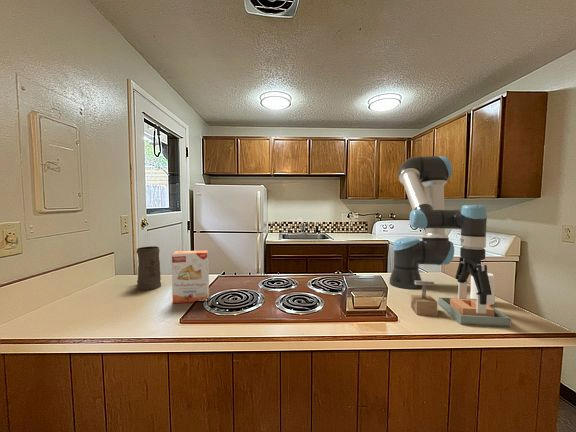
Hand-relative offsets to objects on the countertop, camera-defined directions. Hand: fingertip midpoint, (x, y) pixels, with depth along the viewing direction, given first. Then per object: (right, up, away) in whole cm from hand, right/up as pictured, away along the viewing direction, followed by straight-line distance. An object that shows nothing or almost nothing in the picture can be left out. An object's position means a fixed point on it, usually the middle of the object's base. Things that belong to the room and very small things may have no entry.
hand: (471, 305), depth 99 cm
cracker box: (-108, -3, +16) cm, 109 cm away
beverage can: (+13, -3, +12) cm, 18 cm away
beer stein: (-138, -2, +36) cm, 142 cm away
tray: (0, -3, 0) cm, 3 cm away
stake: (-16, -3, +3) cm, 16 cm away
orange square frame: (0, -3, 0) cm, 3 cm away
